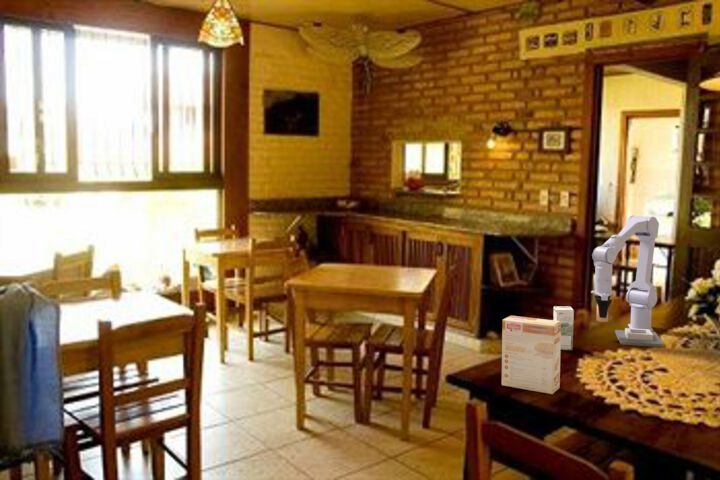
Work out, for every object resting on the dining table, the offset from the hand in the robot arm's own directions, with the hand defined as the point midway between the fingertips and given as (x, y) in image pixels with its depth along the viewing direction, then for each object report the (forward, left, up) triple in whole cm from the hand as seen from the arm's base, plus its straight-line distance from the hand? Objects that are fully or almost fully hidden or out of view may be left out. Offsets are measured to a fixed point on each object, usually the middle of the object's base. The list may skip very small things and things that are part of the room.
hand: (602, 316), depth 234 cm
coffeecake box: (+61, -24, -9) cm, 66 cm away
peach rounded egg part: (0, 0, -2) cm, 2 cm away
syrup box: (+17, -14, -9) cm, 24 cm away
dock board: (-2, +13, -8) cm, 15 cm away
